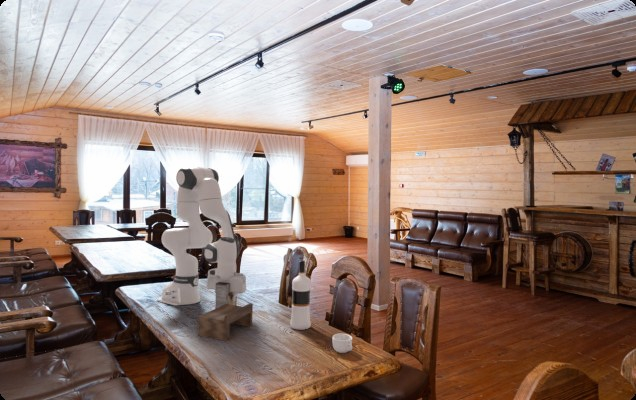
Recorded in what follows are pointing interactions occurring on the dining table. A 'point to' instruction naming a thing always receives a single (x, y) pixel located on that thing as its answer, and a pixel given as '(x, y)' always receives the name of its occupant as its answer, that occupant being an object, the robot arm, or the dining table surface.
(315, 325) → the dining table surface
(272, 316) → the dining table surface
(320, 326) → the dining table surface
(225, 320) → the walnut shelf
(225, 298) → the coffee box
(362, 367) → the dining table surface
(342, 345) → the teacup
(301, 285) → the vodka
